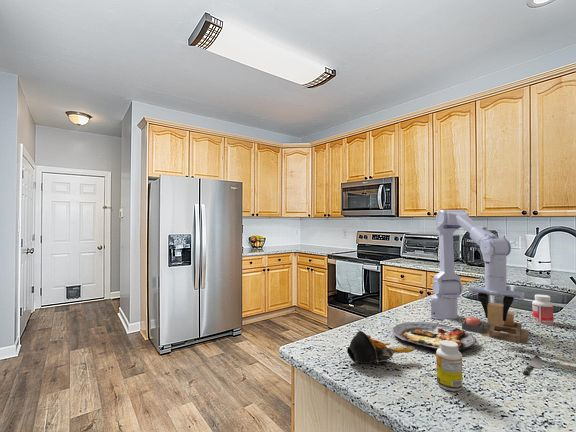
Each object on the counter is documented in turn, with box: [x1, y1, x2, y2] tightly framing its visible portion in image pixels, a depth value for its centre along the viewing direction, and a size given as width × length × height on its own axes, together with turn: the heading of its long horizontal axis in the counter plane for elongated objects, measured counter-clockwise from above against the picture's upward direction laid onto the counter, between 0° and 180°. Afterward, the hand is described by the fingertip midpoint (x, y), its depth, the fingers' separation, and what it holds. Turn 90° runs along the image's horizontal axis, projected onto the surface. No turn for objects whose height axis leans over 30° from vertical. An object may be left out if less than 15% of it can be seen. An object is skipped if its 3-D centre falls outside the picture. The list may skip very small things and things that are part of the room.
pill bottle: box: [531, 293, 555, 326], centre depth 118 cm, size 6×6×11 cm
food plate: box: [391, 321, 477, 351], centre depth 104 cm, size 25×23×4 cm
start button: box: [465, 316, 481, 326], centre depth 111 cm, size 4×4×3 cm
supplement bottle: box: [435, 340, 463, 392], centre depth 75 cm, size 6×6×10 cm
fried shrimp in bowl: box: [346, 330, 416, 365], centre depth 89 cm, size 9×11×18 cm
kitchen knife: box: [522, 355, 543, 376], centre depth 86 cm, size 19×1×3 cm
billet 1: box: [487, 301, 504, 326], centre depth 99 cm, size 4×4×6 cm
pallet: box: [482, 321, 530, 345], centre depth 107 cm, size 12×16×3 cm
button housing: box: [461, 318, 485, 334], centre depth 111 cm, size 6×6×3 cm
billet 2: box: [503, 310, 515, 327], centre depth 111 cm, size 4×4×6 cm
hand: (495, 318), depth 99 cm, fingers closed on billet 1, 4 cm apart
